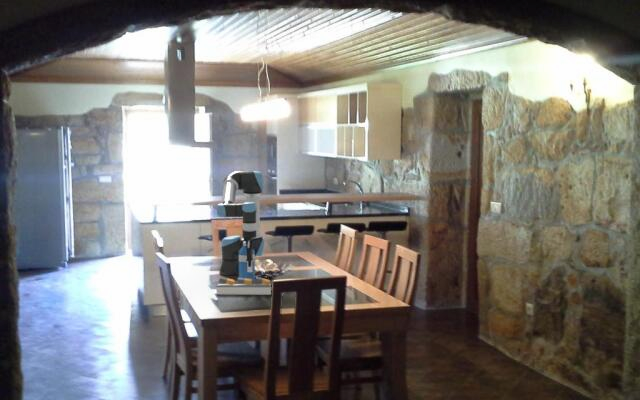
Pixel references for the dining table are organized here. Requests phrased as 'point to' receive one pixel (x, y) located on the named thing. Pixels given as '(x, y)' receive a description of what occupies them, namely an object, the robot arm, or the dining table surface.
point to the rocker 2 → (244, 280)
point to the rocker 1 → (226, 280)
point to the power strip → (244, 288)
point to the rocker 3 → (262, 280)
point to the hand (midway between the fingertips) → (249, 271)
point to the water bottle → (243, 264)
